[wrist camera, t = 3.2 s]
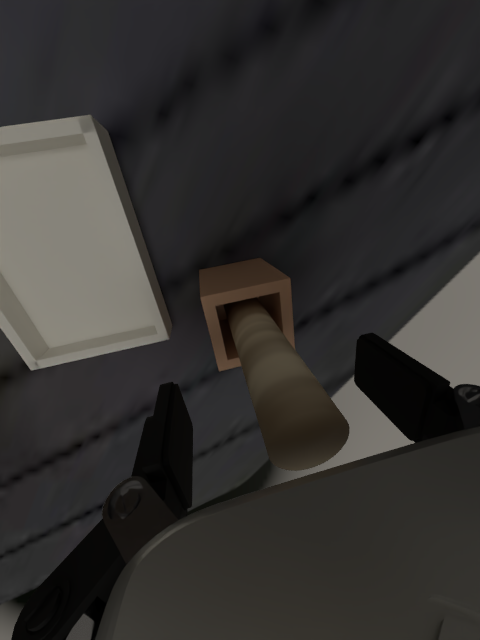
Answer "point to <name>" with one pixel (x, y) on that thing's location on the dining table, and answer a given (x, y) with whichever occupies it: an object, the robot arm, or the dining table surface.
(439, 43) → the dining table surface
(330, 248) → the dining table surface
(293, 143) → the dining table surface
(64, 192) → the plastic tray
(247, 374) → the beech dowel
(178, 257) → the dining table surface
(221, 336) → the terracotta cup
